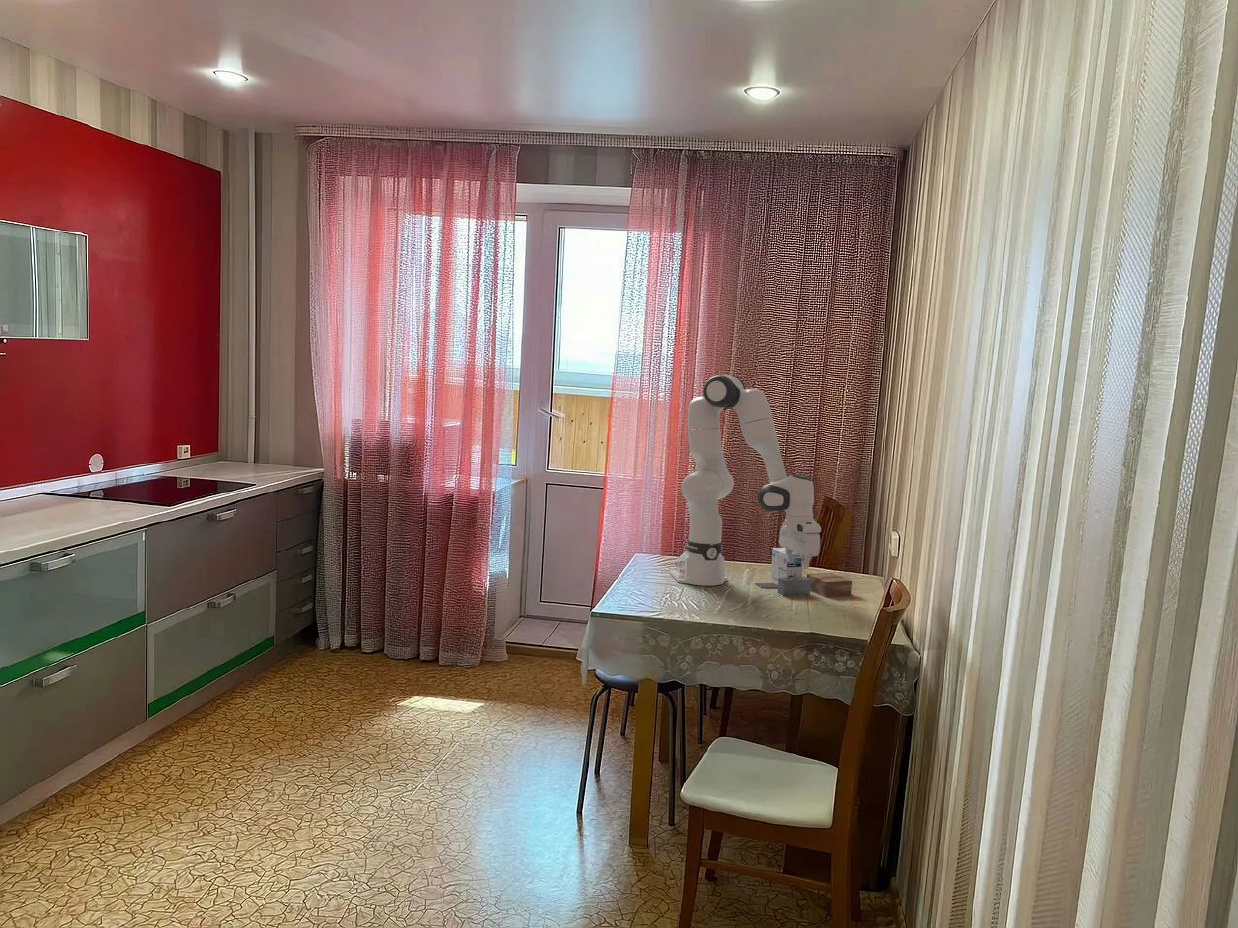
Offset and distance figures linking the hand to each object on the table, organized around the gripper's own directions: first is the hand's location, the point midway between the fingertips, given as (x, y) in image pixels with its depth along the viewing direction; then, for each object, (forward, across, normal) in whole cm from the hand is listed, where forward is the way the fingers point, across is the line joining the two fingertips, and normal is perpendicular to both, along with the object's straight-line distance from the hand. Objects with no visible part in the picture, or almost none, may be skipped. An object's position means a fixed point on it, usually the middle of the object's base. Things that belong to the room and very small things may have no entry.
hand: (797, 564), depth 308 cm
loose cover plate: (+10, -13, -4) cm, 17 cm away
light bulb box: (+10, -20, +7) cm, 23 cm away
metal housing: (+10, -1, -1) cm, 10 cm away
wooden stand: (+10, -2, +13) cm, 17 cm away
